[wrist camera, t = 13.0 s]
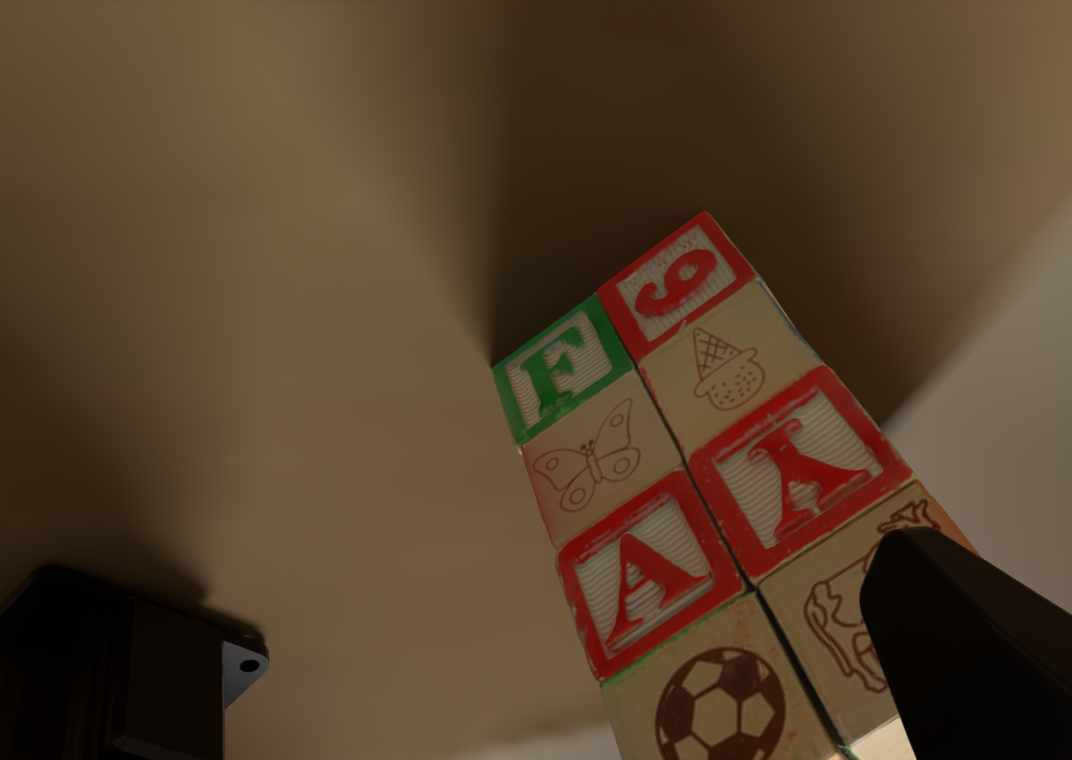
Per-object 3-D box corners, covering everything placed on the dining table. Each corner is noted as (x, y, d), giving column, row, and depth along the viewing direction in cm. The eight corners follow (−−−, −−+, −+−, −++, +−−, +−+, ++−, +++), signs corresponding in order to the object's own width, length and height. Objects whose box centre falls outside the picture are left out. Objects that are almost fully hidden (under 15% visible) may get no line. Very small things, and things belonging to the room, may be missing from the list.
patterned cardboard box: (986, 613, 36) (1268, 984, 26) (833, 707, 37) (1049, 1093, 27) (701, 199, 23) (1054, 639, 13) (478, 365, 24) (655, 876, 14)
